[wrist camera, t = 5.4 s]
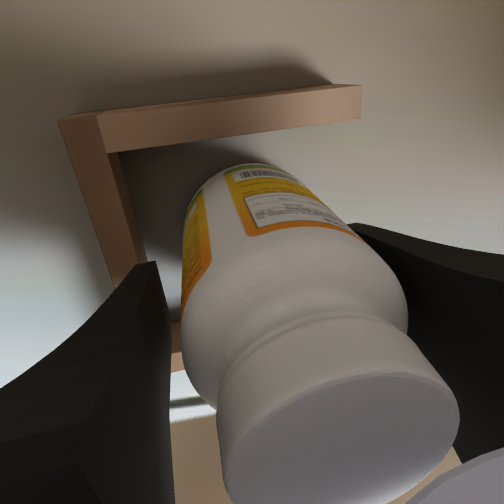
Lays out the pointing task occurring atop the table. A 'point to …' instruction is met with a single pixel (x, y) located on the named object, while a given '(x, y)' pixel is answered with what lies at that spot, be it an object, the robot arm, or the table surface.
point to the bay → (174, 132)
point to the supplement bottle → (304, 349)
